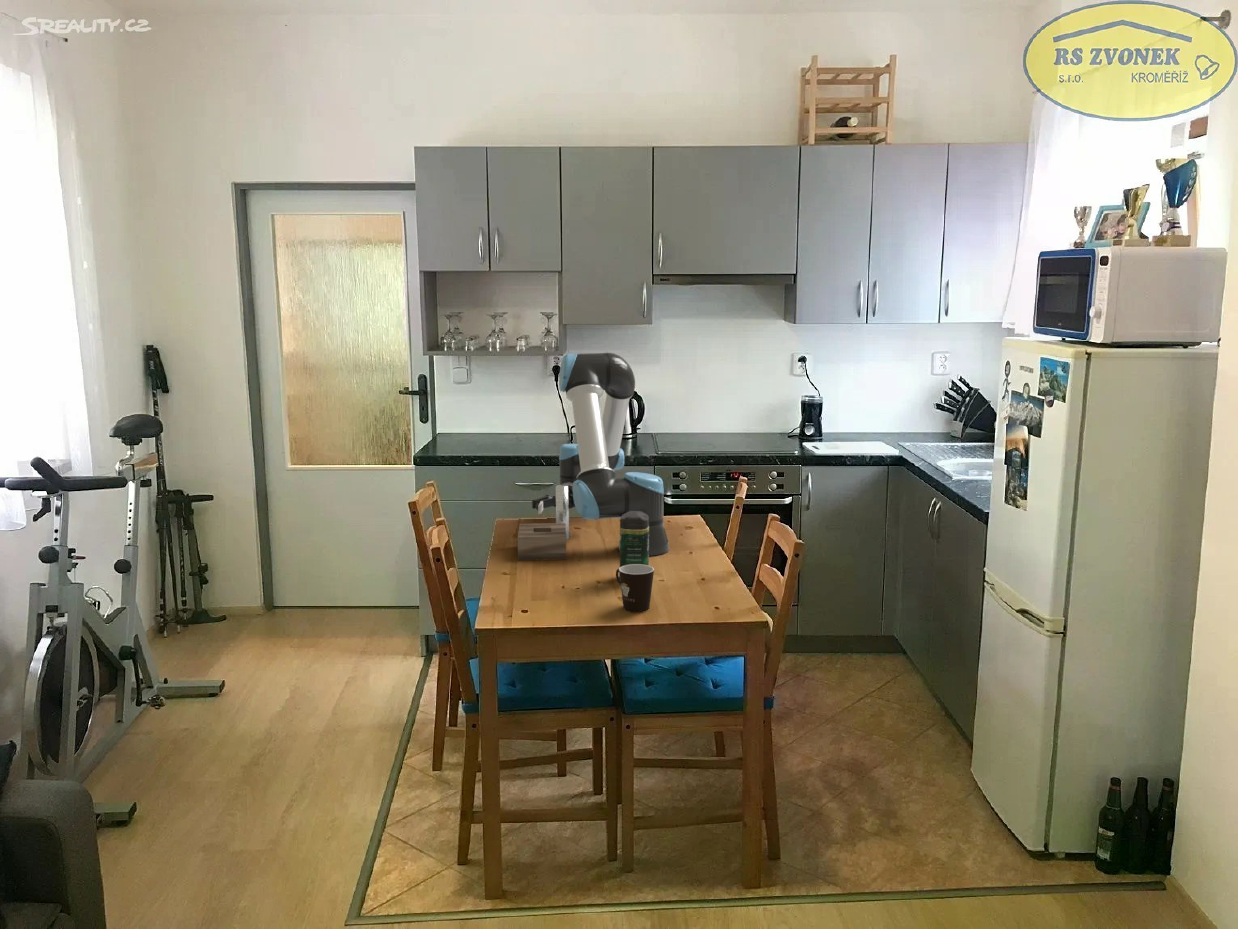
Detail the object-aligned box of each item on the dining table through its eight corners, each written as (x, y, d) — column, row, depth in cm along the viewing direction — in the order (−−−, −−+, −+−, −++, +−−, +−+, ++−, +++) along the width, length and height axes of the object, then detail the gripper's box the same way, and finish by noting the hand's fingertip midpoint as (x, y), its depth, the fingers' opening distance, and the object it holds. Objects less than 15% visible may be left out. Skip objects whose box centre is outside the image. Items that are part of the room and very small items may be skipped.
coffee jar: (647, 585, 258) (648, 517, 254) (618, 584, 258) (618, 516, 255) (650, 574, 267) (650, 508, 264) (621, 573, 268) (621, 508, 265)
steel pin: (571, 539, 305) (570, 486, 302) (560, 541, 303) (560, 487, 300) (564, 536, 308) (563, 484, 305) (553, 538, 306) (553, 485, 303)
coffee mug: (657, 612, 236) (657, 573, 234) (623, 615, 234) (623, 575, 232) (646, 598, 247) (646, 560, 245) (613, 600, 245) (613, 562, 243)
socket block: (566, 559, 282) (566, 536, 281) (518, 560, 281) (517, 537, 280) (565, 545, 298) (565, 523, 297) (520, 546, 297) (519, 523, 296)
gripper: (605, 507, 322) (601, 522, 301) (530, 506, 323) (521, 521, 302) (605, 485, 320) (601, 498, 300) (530, 484, 322) (521, 497, 301)
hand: (561, 510), depth 301 cm, fingers open, 13 cm apart
